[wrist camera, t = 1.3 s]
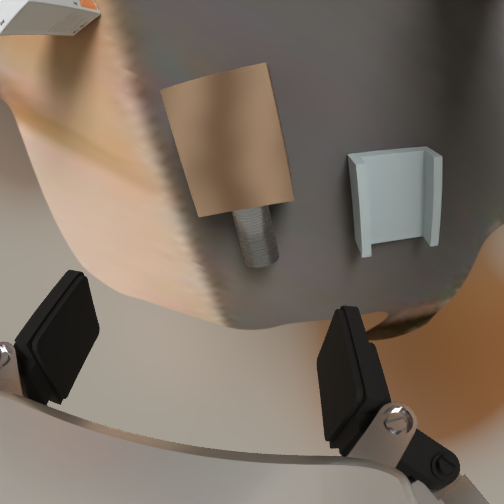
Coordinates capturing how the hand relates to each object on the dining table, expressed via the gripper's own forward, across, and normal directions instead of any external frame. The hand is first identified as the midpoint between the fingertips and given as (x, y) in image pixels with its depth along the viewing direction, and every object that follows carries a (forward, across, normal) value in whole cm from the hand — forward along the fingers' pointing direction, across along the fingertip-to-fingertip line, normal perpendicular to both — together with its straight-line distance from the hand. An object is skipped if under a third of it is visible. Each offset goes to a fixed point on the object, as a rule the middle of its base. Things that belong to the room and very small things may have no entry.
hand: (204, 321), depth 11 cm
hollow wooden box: (+23, +1, -4) cm, 23 cm away
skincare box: (+23, +20, -18) cm, 35 cm away
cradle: (+22, -16, +1) cm, 27 cm away
